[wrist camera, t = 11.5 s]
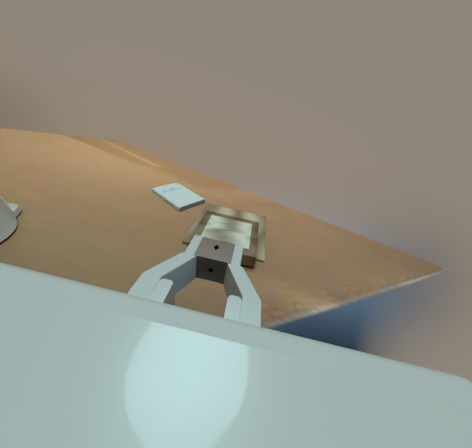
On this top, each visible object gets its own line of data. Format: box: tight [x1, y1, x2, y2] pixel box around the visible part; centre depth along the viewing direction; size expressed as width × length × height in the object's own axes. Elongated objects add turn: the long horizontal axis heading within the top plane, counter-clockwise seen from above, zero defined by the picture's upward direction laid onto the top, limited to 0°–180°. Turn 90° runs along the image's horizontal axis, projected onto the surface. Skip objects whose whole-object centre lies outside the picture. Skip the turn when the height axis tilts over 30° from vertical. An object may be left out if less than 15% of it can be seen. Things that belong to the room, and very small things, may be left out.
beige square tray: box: [183, 204, 265, 262], centre depth 39 cm, size 16×16×1 cm
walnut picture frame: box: [188, 211, 259, 267], centre depth 34 cm, size 12×3×11 cm
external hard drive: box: [152, 183, 205, 212], centre depth 47 cm, size 2×8×12 cm
